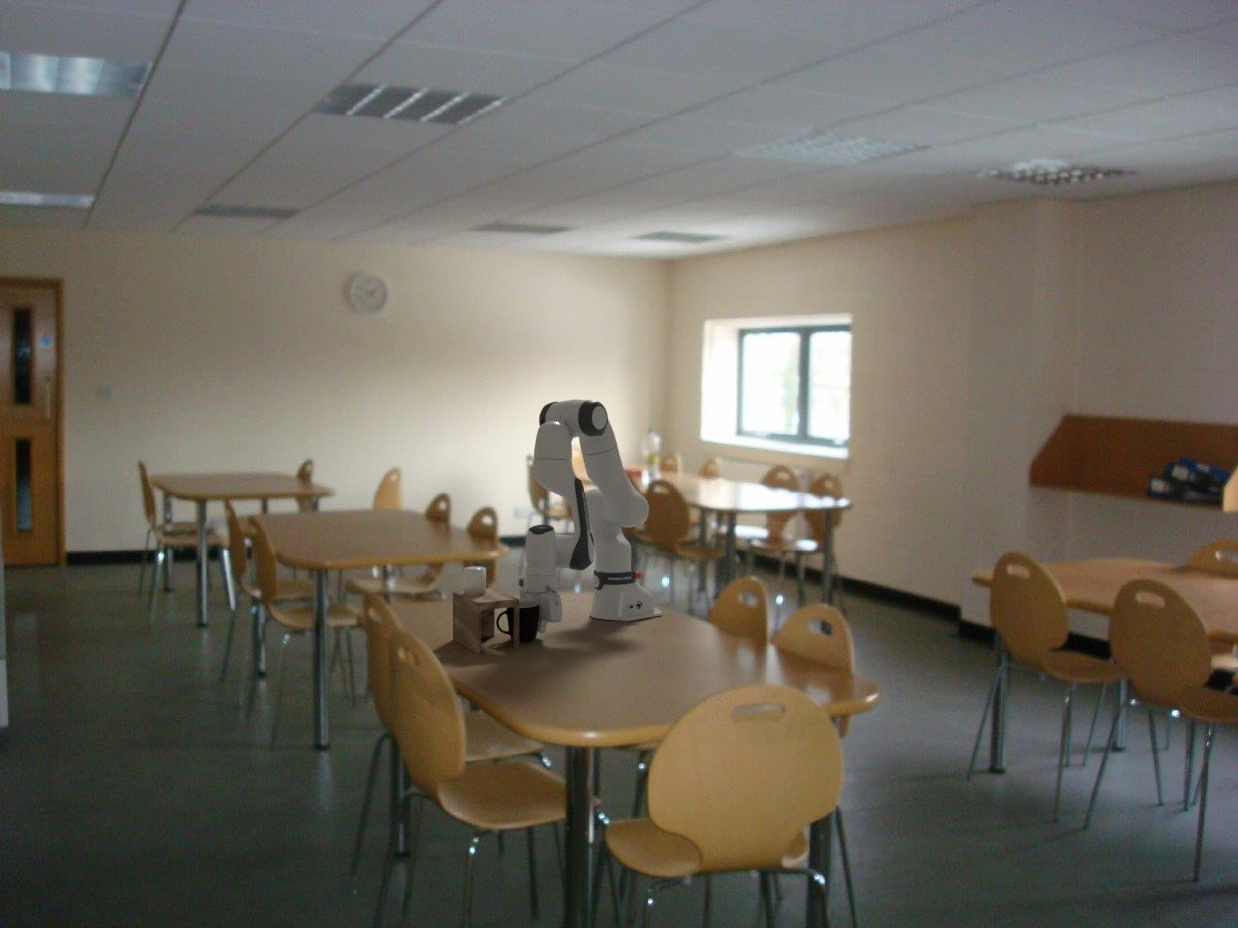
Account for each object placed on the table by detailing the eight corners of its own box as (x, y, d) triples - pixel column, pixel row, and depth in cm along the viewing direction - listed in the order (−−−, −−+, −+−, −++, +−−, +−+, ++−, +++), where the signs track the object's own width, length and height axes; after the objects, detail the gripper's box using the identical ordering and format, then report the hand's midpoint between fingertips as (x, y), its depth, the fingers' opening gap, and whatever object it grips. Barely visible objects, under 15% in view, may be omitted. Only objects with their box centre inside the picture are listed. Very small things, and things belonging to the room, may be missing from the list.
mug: (536, 635, 329) (535, 599, 328) (542, 642, 320) (541, 606, 319) (494, 638, 326) (493, 602, 325) (499, 645, 317) (498, 609, 316)
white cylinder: (480, 590, 324) (481, 565, 324) (489, 594, 319) (489, 569, 318) (460, 592, 321) (460, 567, 321) (468, 596, 316) (468, 570, 315)
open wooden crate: (493, 635, 329) (493, 588, 328) (519, 648, 313) (519, 599, 312) (453, 639, 323) (453, 591, 322) (477, 653, 308) (477, 602, 307)
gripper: (568, 588, 317) (567, 638, 318) (535, 577, 335) (535, 624, 336) (547, 590, 314) (546, 641, 315) (515, 578, 332) (515, 626, 333)
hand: (540, 632), depth 326 cm, fingers closed, pressing on mug
